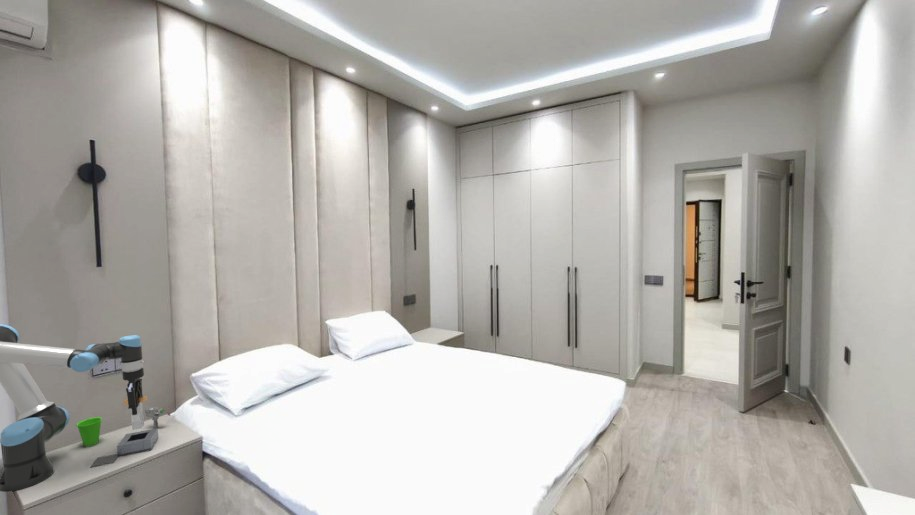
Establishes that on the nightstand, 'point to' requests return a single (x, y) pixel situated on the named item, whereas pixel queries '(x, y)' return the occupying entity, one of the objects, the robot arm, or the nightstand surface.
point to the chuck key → (139, 423)
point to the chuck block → (137, 442)
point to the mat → (104, 460)
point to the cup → (90, 430)
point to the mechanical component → (154, 414)
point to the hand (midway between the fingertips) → (137, 418)
